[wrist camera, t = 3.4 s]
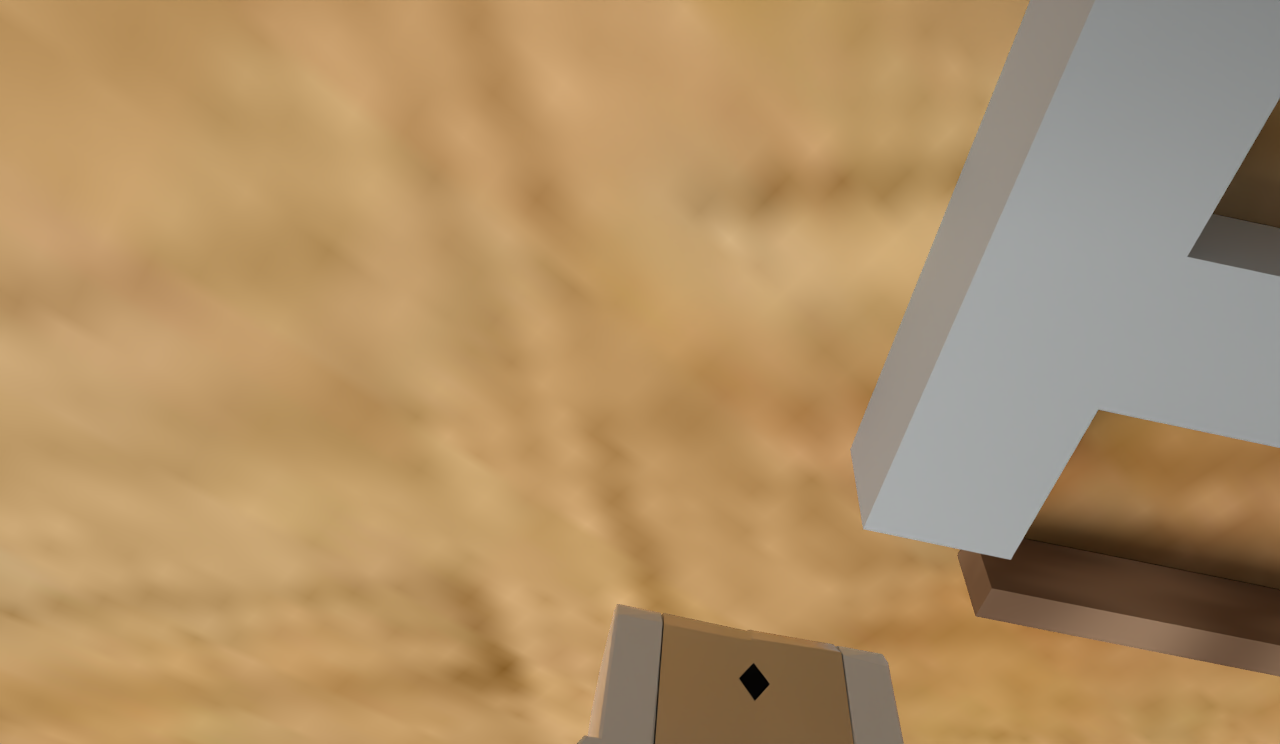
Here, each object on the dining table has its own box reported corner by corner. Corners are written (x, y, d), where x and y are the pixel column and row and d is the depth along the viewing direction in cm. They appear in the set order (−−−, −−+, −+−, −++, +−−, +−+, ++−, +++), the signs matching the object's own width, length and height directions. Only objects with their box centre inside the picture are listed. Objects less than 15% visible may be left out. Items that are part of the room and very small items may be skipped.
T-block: (1562, 44, 18) (1716, 87, 15) (1209, 523, 26) (1268, 613, 23) (1055, -66, 18) (1113, -42, 15) (850, 448, 26) (863, 528, 23)
